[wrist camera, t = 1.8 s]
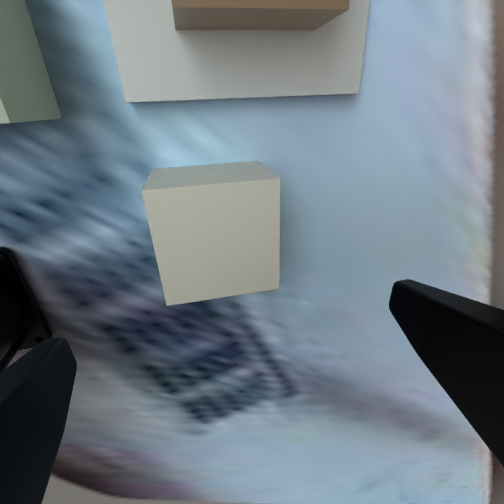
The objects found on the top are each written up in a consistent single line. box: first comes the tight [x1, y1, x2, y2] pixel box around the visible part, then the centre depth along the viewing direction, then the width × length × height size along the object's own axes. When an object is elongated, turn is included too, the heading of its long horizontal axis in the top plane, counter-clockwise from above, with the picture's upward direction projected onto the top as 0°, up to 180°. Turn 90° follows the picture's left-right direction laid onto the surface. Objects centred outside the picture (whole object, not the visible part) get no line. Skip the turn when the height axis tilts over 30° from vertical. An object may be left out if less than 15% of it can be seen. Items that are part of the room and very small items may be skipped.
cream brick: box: [141, 161, 280, 306], centre depth 14 cm, size 6×6×4 cm
